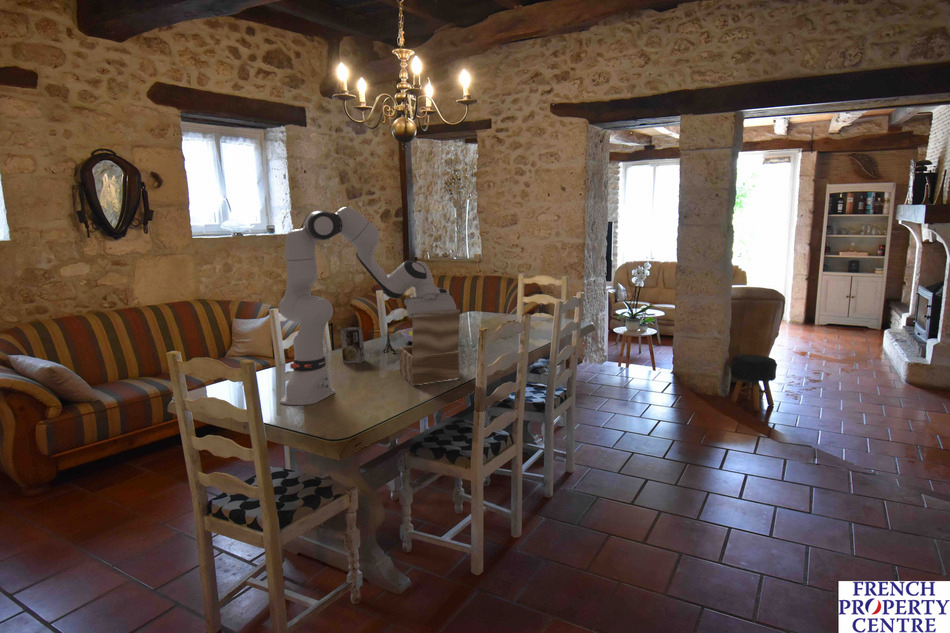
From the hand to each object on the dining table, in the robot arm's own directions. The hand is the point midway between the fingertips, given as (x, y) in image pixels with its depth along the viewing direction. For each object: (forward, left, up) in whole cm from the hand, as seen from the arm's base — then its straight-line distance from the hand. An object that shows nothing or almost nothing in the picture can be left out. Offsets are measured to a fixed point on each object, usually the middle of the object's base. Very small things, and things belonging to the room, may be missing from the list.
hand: (436, 323), depth 230 cm
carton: (+10, +6, -25) cm, 28 cm away
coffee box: (+34, +48, -25) cm, 64 cm away
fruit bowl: (+78, +22, -26) cm, 85 cm away
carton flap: (0, 0, -4) cm, 4 cm away
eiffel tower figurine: (+54, +37, -26) cm, 70 cm away
